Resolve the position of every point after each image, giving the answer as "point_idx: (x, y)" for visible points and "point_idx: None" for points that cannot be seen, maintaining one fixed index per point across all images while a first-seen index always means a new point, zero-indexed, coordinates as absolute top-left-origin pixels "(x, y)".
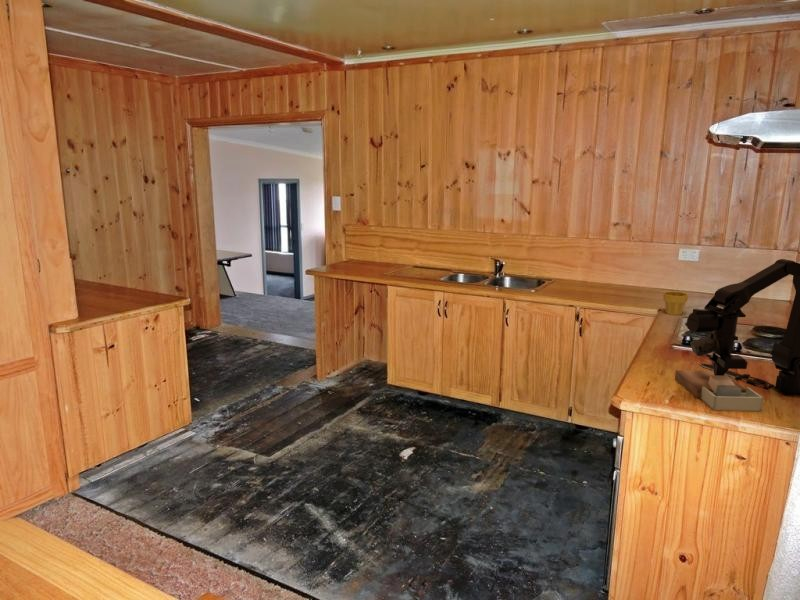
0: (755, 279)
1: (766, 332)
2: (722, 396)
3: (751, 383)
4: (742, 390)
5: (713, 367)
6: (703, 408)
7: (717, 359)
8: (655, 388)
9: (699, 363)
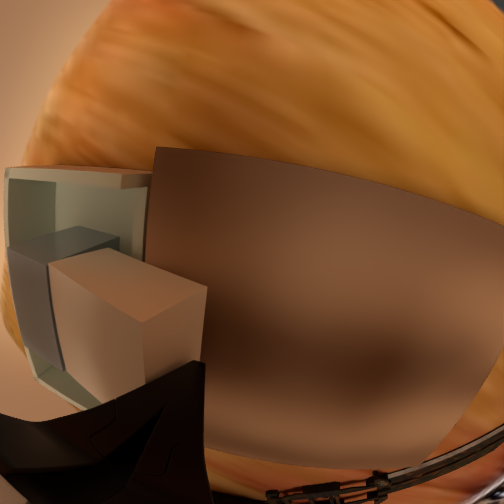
0: None
1: None
2: (8, 213)
3: (317, 488)
4: None
5: (181, 443)
6: (75, 126)
7: (7, 492)
8: (378, 8)
9: None
